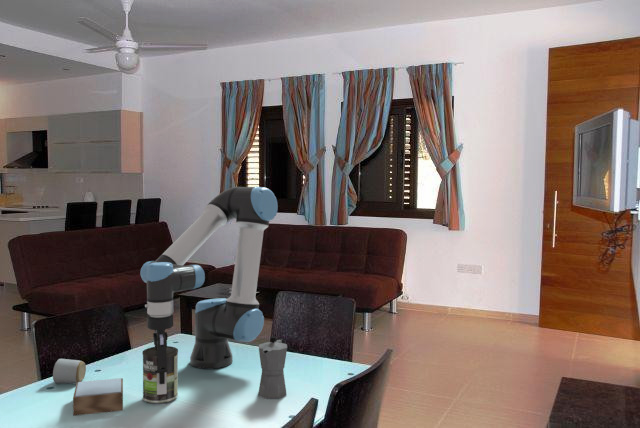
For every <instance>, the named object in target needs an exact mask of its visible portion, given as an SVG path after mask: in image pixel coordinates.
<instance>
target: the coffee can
mask: <svg viewBox="0 0 640 428" xmlns="http://www.w3.org/2000/svg"><path fill="white" fill-rule="evenodd" d="M141 353H142V399H143V401H145V402H146V403H149V404H150V403H151V404H161V403H162V404H163V403H167V402H171V401H173V400H176V399H177V397H179V394H178V390H179V389H178V387H179V386H178V378H179V376H178V373H179V372H178V371H179V370H178V366H179V365H178V364H179V362H178V358H179V356H178V355H179V354H178V353H179V349H178V348H177V347H174V346H170V345H169V346H168V345H167V349H166V358H167V394H161V395H157V373H155V371H157V358H158V356H157V350H155V346H152V347H147V348H145V349H144V350H142V352H141Z"/></svg>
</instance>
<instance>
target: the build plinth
mask: <svg viewBox="0 0 640 428" xmlns="http://www.w3.org/2000/svg"><path fill="white" fill-rule="evenodd" d="M119 411H124V379H123V378H122V377H119V378H118V377H117V378H110V379H109V378H105V379H96V380H85V381H83V380H82V382H77V383H76V384H75V389H74V393H73V397H72V416H81V415H91V414H101V413H103V414H104V413H111V412H119Z"/></svg>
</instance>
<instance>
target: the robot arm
mask: <svg viewBox="0 0 640 428" xmlns="http://www.w3.org/2000/svg"><path fill="white" fill-rule="evenodd" d="M278 207H279V205H278V200H277V197H276V196H275V193H274V192H273V191H272V190H271V189H269V188H267V187H262V186H234V187H230V188H227V189H225V190H224V191H222V192H221V193H219V194H218V195H216V196H215V197H213V199H211V201H210V202H208V204H206V205H205V207H204V211H203V213H202V214H201V215H200V216H198V218H196V220H194V222H193V223H192V224H191V225H189V227H188V228H187V229H186V230H184V232H182V234H181V235H180V236H179V237H178V238H176V240H174V241H173V243H172V244H171V245H169V247H168V248H167V249H166V250H164V252H163V253H162V254H161V255H159V257H158V258H157V259H155V260H151V261H146V262H145V263H143V265H142V267H141V268H140V273H139V274H140V277H141V280H142V281H143V282H144V283H146V304H144V307H145V308H146V309H147V310H146V313H147V316H146V326H147V329H149V330H152V331H154V332H153V333H152V338H153V345H154V347H155V350H157V356H158V358H157V371H155V373H157V395H161V394H167V358H166V349H167V346H168V339H169V338H168V337H169V336H168V333H167V331H166V330H170V329H172V327H174V314H173V313H174V293H177V292H183V291H184V292H185V291H189V290H190V291H191V290H195V289H197V288H201V287H202V286H203V285H204V283H205V281H206V280H205V279H206V276H205V275H206V274H205V270H204V269H203V267H202V266H201V265H199V264H188V265H185V264H186V263H187V261H189V259H191V257H193V255H195V253H196V252H197V251H198V250H199V249H200V248H201V247H202V246H203V245H204V244H205V242H206V241H208V239H209V238H211V236H212V235H213V234H214V233H215V232H216V231H217V230H218V229H219V227H222V226H225V225H227V223H229V222H230V221H232V220H235V223H236V225H237V226H238V228H239V230H238V237H237V246H236V255H235V262H234V271H233V276H232V284H231V293H230V296H229V297H227V298H225V297H222V298H221V297H220V298H210V299H209V298H208V299H204V300H200V301H198V302H197V303H196V305H195V312H194V331H195V332H194V334H195V337H194V338H195V340H194V345H193V348H192V351H191V353H190V354H191V355H190V361H189V363H190V365H191V366H192V367H194V368H198V369H207V370H208V369H220V368H224V367H227V366H230V365H231V364H232V363H233V353H232V350H231V346H230V343H229V339H230V340H234V341H236V342H244V343H249V342H252V341H254V340H256V338H257V337H258V336H259V335H260V334H261V333H262V330H263V328H264V324H265V317H264V315H263V311H261V310H260V309H259V308H260V307H259V306H260V303H259V301H258V299H257V298H256V294H257V288H258V280H259V279H258V278H259V274H260V273H259V270H260V264H261V255H262V248H263V240H264V239H263V238H264V231H265V230H266V229H267V228H269V227H270V226H269V225H270V221H272V220H274V219H275V217H276V216H277V213H278Z"/></svg>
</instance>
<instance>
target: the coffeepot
mask: <svg viewBox="0 0 640 428" xmlns="http://www.w3.org/2000/svg"><path fill="white" fill-rule="evenodd" d="M287 351H288V344H287V343H285V340H284V339H283V338H279V339H277V340H276V336H270V341H267V342H263V343H260V344H258V354H259V360H260V368H261V374H260V375H261V376H260V382H259V388H258V396H259V397H261V398H262V399H267V400H268V399H269V400H273V399H274V400H276V399H282V398H284V397H286V396H287V386H286V380H285V373H284V372H285V371H284V369H285V364H286V359H287V357H286V356H287Z"/></svg>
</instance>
